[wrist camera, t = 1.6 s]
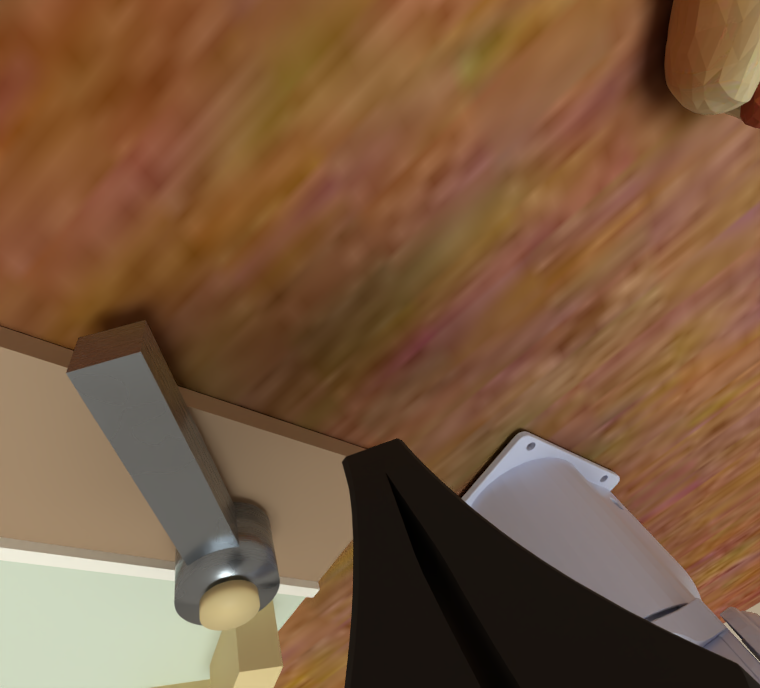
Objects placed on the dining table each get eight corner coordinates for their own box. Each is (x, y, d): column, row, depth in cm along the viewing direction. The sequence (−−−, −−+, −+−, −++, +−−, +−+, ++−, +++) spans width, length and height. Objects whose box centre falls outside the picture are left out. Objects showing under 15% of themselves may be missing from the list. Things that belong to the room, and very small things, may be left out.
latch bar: (280, 544, 21) (290, 600, 19) (194, 576, 20) (195, 638, 18) (177, 306, 14) (176, 351, 12) (46, 341, 14) (20, 395, 12)
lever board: (396, 459, 22) (438, 541, 19) (206, 700, 27) (209, 803, 24) (-19, 319, 14) (-93, 419, 10) (-191, 704, 19) (-284, 867, 15)
